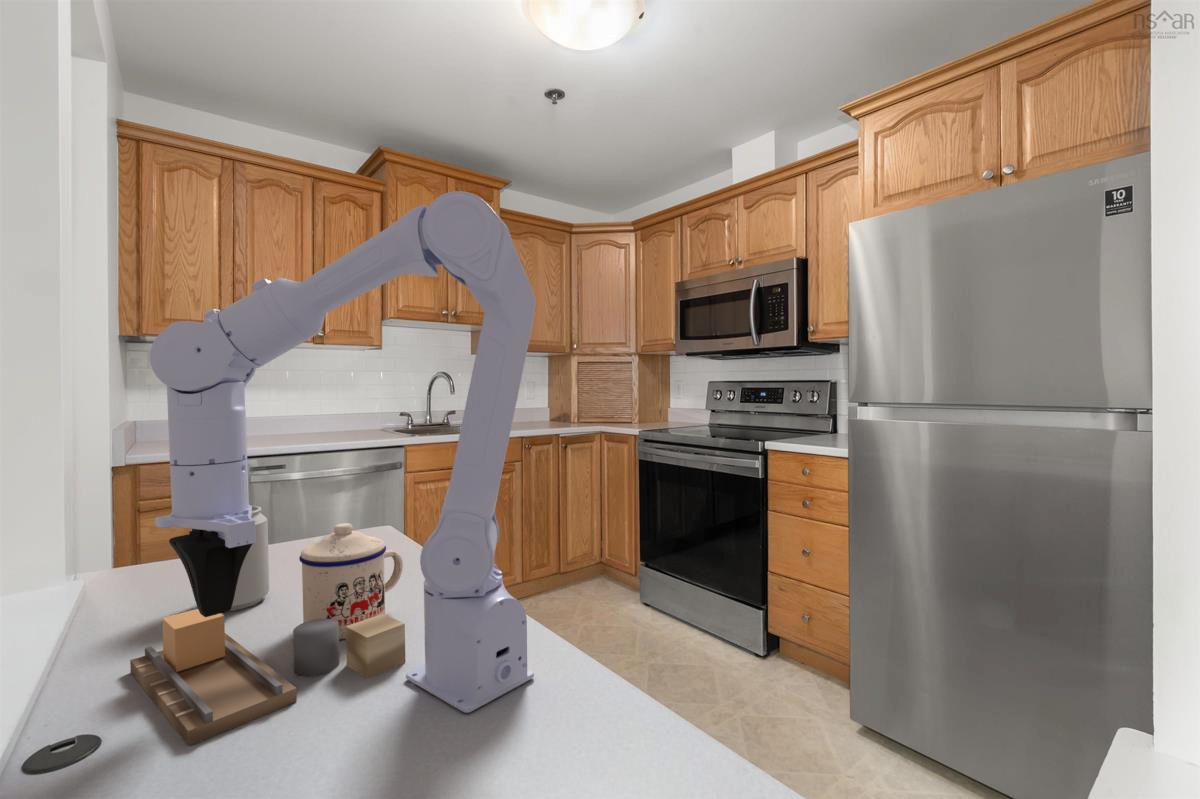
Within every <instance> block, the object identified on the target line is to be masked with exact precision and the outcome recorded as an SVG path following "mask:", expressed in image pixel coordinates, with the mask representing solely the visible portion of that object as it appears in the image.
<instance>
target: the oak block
mask: <svg viewBox="0 0 1200 799" xmlns="http://www.w3.org/2000/svg"><path fill="white" fill-rule="evenodd" d="M405 624H406V623H404V622H402V621H400V620H397V619H395V618H394V617H391V616H389V615H387V614H386V613H385V614H381V615H378V616H375V617H372V618H369V619H366V620H363V621H360V622H357V623H355V624H352V625H349V626H346V639H345V645H346V647H345V648H346V651H345V653H346V655H345V657H346V667H348V668H350V669H352V670H353V671H355V672H357V673H358V674H360V675H361V676H363V677H364V678H366V679H370V678H372V677H375V676H377V675H379V674H382V673H383V672H386V671H388V670H391V669H393V668H395V667H398V666H401V665H403V664H405V663H406V626H405Z"/></svg>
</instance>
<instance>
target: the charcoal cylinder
mask: <svg viewBox="0 0 1200 799" xmlns="http://www.w3.org/2000/svg"><path fill="white" fill-rule="evenodd" d="M292 639H293V640H292V643H293V644H292V645H293V672H294V675H296V676H298V677H300V678H301V677H302V678H314V677H320V676H323V675H325V674H328V673H331V672H332V671H334V670H335V669H336V668H338V667H339V665H340V639H339V629H338V621H336V620H334V619H317V620H312V621H308V622H305V623H300V624H299V625H296V627H294V629H293V630H292Z"/></svg>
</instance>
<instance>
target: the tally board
mask: <svg viewBox="0 0 1200 799" xmlns="http://www.w3.org/2000/svg"><path fill="white" fill-rule="evenodd" d="M129 661H130V662H129V665H130V666H129V667H130V673H131V675H132V676H133V677H134V679H135V680H136V681H137V682H138V684H139V686H141V687H142V689H143V690H144V691H145V692H146V693H147V695H148V696H149V697H150V698H151V700H152V702H153V703H155V705H156V706H157V708H158V709H159V710H160V712H161V713H162V714H163V715H164V716H165V718H166V719H167V720H168V722H170V724H171V725H172V727H173V728H174V729H175V730H176V732H177V733H178V734H179V736H180V737H181V738H182V739H183V740H184V743H186V744H187V746H188V747H190V746H192V745H195V744H197V743H199V742H202V741H205V740H207V739H210V738H212V737H214V736H217V735H220V734H222V733H224V732H227V731H229V730H231V729H234V728H236V727H239V726H241V725H244V724H246V723H249V722H251V721H253V720H255V719H258V718H260V717H262V716H265V715H268V714H270V713H273V712H275V711H278V710H280V709H282V708H284V707H285V708H286V706H287V707H288V706H290V705H292V704H294V703H297V701H298V698H297V697H298V696H297V692H298V691H297V687H296V686H294V685H293V684H292V683H291V682H289V681H288V680H287V679H286V678H284V677H283V676H282V675H281V674H279V673H278V672H276V671H275V670H274V669H273V668H271V667H270V666H268V665H267V664H266V663H265V662H264V661H262V660H261V659H260V658H258V657H257V656H256V655H254V653H252V652H250V650H248V649H247V648H245V647H244V646H243V645H241V644H240V643H239V642H238V641H236V640H235V639H234V638H232V637H231V636H230V635H228V634H227V633H226V632H225V656H224V657H221V658H218V659H215V660H212V661H209V662H206V663H203V664H200V665H197V666H194V667H191V668H188V669H185V670H181V671H178V672H175V671H174V670H173V669H172V667H171V666H170V665H169V664H168V663H167V662H166V661H165V660H164V656H163V649H162V650H160V651H156V649H155V648H154V647H153V646H152V645H149V646H146V647H144V655H143V656H139V657H135V658H133V659H130V660H129Z"/></svg>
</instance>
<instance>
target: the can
mask: <svg viewBox="0 0 1200 799" xmlns="http://www.w3.org/2000/svg"><path fill="white" fill-rule="evenodd" d="M251 507H252V517H251V518H252V519H253V520H255V530H256V543H253V544H252V546H251V547H250V549H249V551H248V553H247V555H246V557H245V559H244V562H243V564H242V567H241V570H240V574H239V578H238V582H237V586H236V591H235V596H234V600H233V604H232V607H231V610H230V611H229V612H231V611H232V612H233V611H238V610H243V609H246V608H249V607H252V606H255V605H257V604H258V603H260V602H261V601H262V600H263V599H264V598H265V597H266V595H267V594H268V593H269V592H270V567H269V566H270V565H269V563H270V562H269V561H270V560H269V559H270V558H269V531H268V529H269V527H268V525H269V524H268V518H267V517H266V516H265V515H263V513H261V511H262V507H261V506H257V505H251Z"/></svg>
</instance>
